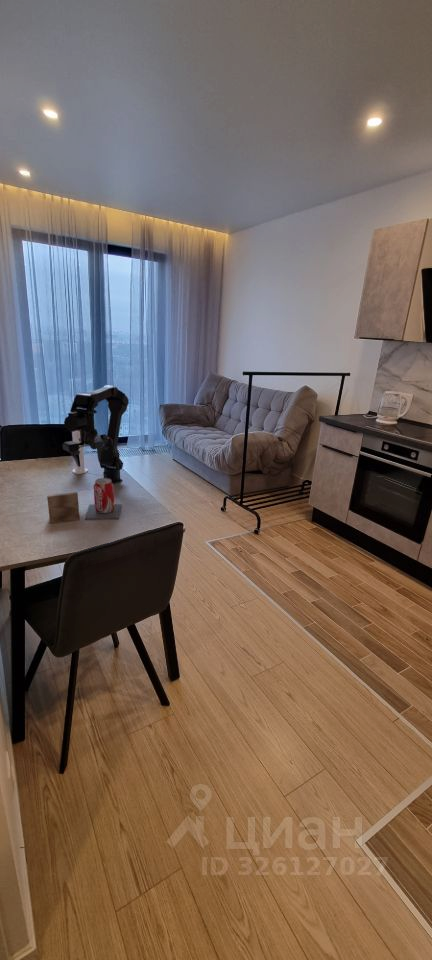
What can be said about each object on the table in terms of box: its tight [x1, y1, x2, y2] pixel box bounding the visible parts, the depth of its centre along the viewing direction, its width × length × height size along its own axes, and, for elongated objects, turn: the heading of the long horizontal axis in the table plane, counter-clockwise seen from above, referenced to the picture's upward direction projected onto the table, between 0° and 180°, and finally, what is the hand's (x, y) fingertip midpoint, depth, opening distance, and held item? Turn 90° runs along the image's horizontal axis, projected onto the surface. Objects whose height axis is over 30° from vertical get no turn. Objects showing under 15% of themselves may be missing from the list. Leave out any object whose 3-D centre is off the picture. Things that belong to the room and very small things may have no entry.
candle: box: [71, 430, 89, 475], centre depth 183 cm, size 7×7×25 cm
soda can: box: [93, 477, 115, 513], centre depth 145 cm, size 7×7×12 cm
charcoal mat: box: [84, 503, 122, 521], centre depth 147 cm, size 12×12×1 cm
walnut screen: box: [46, 491, 81, 524], centre depth 139 cm, size 10×4×9 cm, turn 112°
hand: (89, 464), depth 158 cm, fingers open, 9 cm apart
